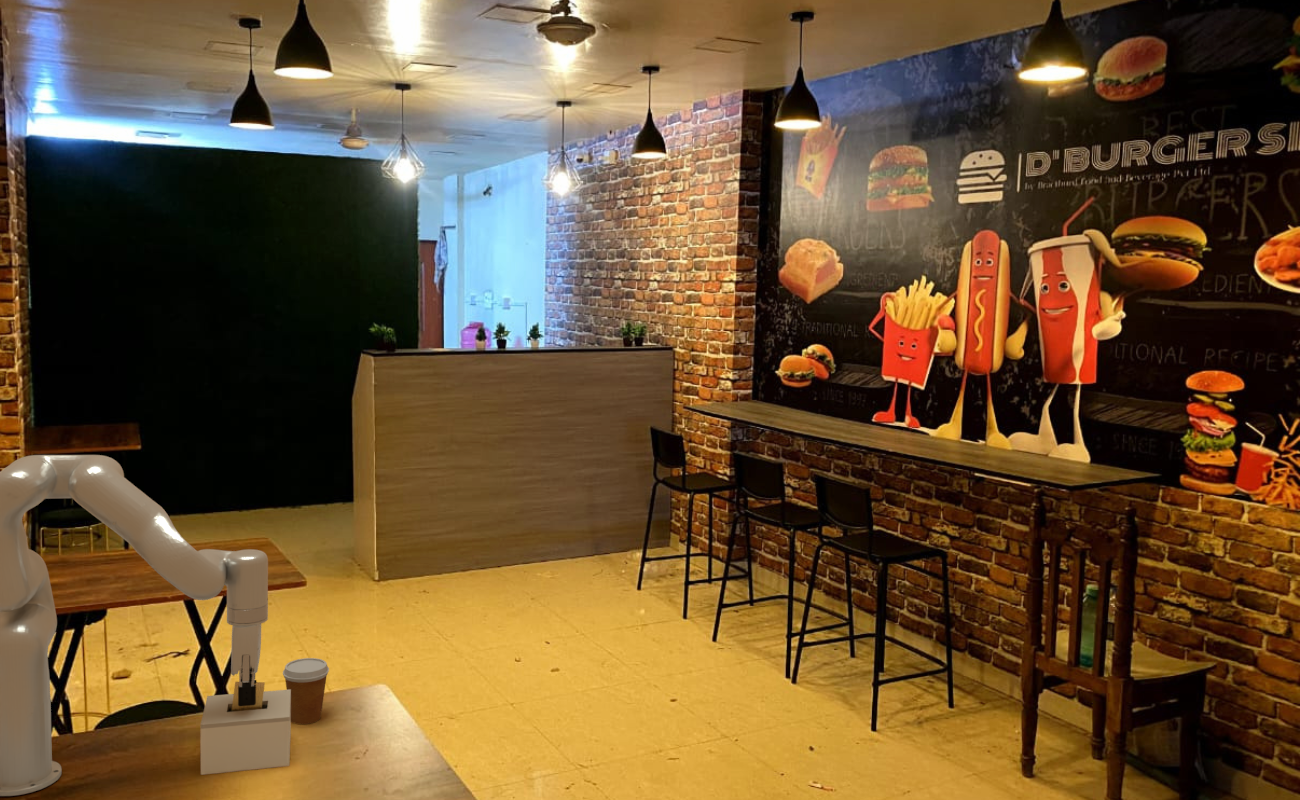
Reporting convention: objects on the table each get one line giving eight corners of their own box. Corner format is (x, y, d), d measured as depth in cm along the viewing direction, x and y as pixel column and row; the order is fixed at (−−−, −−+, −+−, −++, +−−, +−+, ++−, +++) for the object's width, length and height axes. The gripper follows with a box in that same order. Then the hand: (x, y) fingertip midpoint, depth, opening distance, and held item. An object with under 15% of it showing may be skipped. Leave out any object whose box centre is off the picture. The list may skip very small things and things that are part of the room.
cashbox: (200, 774, 196) (200, 724, 194) (207, 742, 209) (207, 695, 208) (289, 765, 201) (289, 717, 199) (290, 735, 214) (290, 689, 213)
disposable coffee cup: (314, 730, 217) (314, 675, 215) (273, 724, 219) (273, 670, 217) (336, 712, 226) (337, 660, 225) (297, 707, 228) (297, 655, 226)
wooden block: (261, 711, 203) (231, 710, 201) (261, 706, 206) (232, 705, 204) (264, 686, 203) (234, 686, 201) (264, 682, 205) (235, 681, 203)
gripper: (229, 602, 208) (230, 689, 210) (223, 627, 193) (223, 720, 195) (269, 599, 210) (268, 686, 212) (266, 625, 195) (265, 717, 197)
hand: (247, 702), depth 203 cm, fingers closed on wooden block, 1 cm apart
